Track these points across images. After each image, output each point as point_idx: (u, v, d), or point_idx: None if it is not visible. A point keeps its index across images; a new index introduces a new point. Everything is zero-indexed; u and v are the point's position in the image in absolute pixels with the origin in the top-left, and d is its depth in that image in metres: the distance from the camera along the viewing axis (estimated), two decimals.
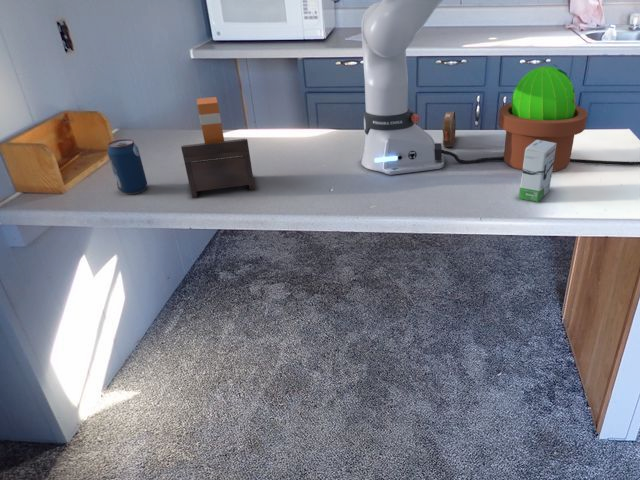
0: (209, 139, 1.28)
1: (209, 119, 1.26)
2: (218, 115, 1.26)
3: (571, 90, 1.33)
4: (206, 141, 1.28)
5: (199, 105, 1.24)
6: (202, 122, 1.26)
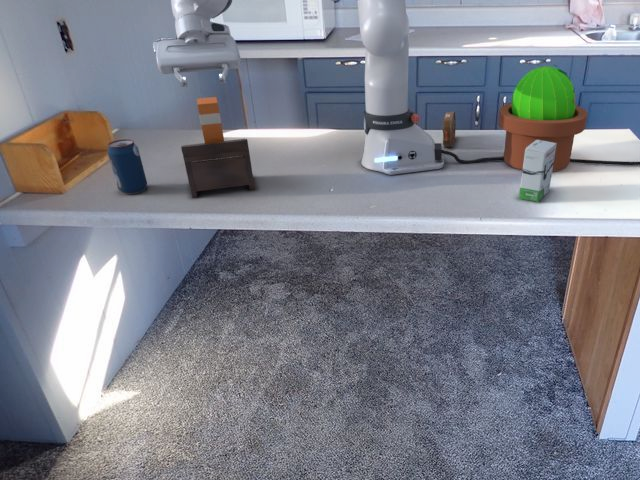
0: (209, 139, 1.28)
1: (209, 119, 1.26)
2: (218, 115, 1.26)
3: (571, 90, 1.33)
4: (206, 141, 1.28)
5: (199, 105, 1.24)
6: (202, 122, 1.26)
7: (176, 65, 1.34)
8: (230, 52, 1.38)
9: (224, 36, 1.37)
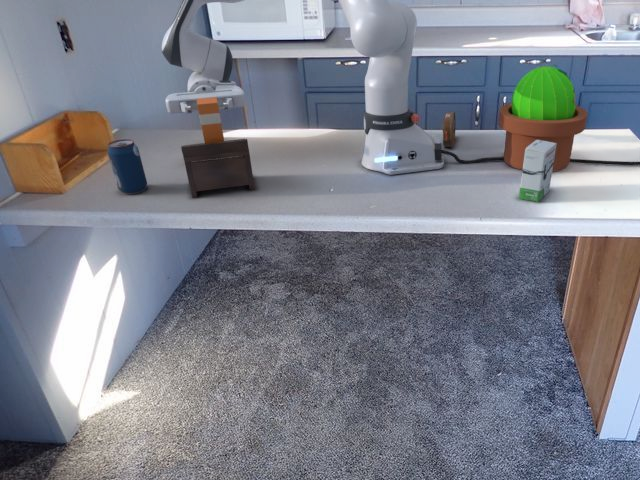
0: (209, 139, 1.28)
1: (209, 119, 1.26)
2: (218, 115, 1.26)
3: (571, 90, 1.33)
4: (206, 141, 1.28)
5: (199, 105, 1.24)
6: (202, 122, 1.26)
7: (183, 100, 1.40)
8: (235, 92, 1.45)
9: (230, 85, 1.48)
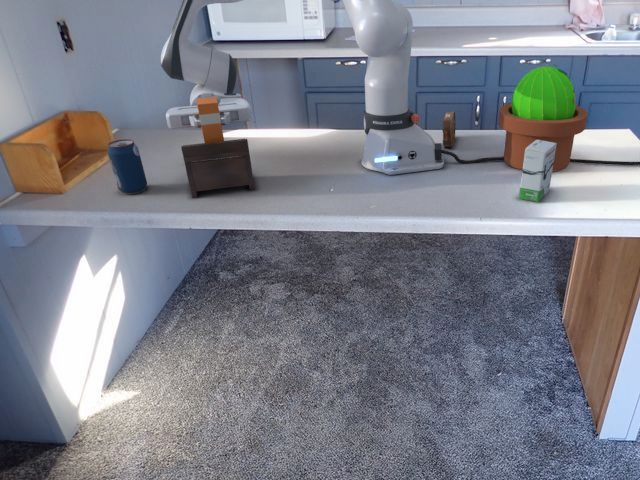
0: (209, 139, 1.28)
1: (208, 119, 1.26)
2: (218, 115, 1.26)
3: (571, 90, 1.33)
4: (206, 141, 1.28)
5: (199, 105, 1.24)
6: (202, 122, 1.26)
7: (184, 114, 1.30)
8: (240, 105, 1.35)
9: (236, 98, 1.38)
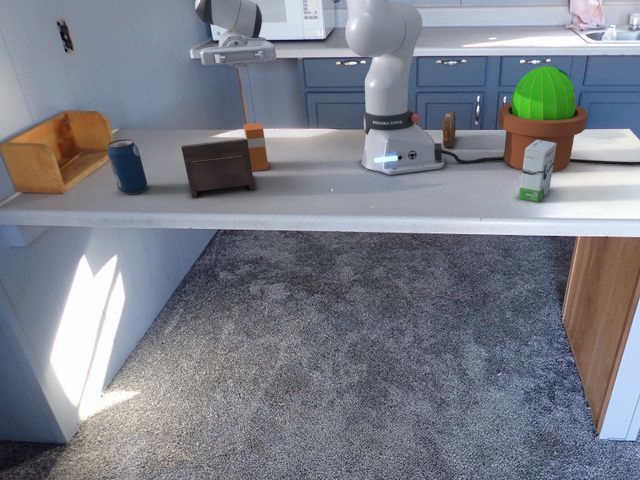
0: (254, 160, 1.45)
1: (255, 143, 1.43)
2: (263, 139, 1.43)
3: (571, 90, 1.33)
4: (252, 162, 1.45)
5: (247, 131, 1.41)
6: (249, 146, 1.43)
7: (217, 52, 1.46)
8: (265, 45, 1.51)
9: (261, 41, 1.54)
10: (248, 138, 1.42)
